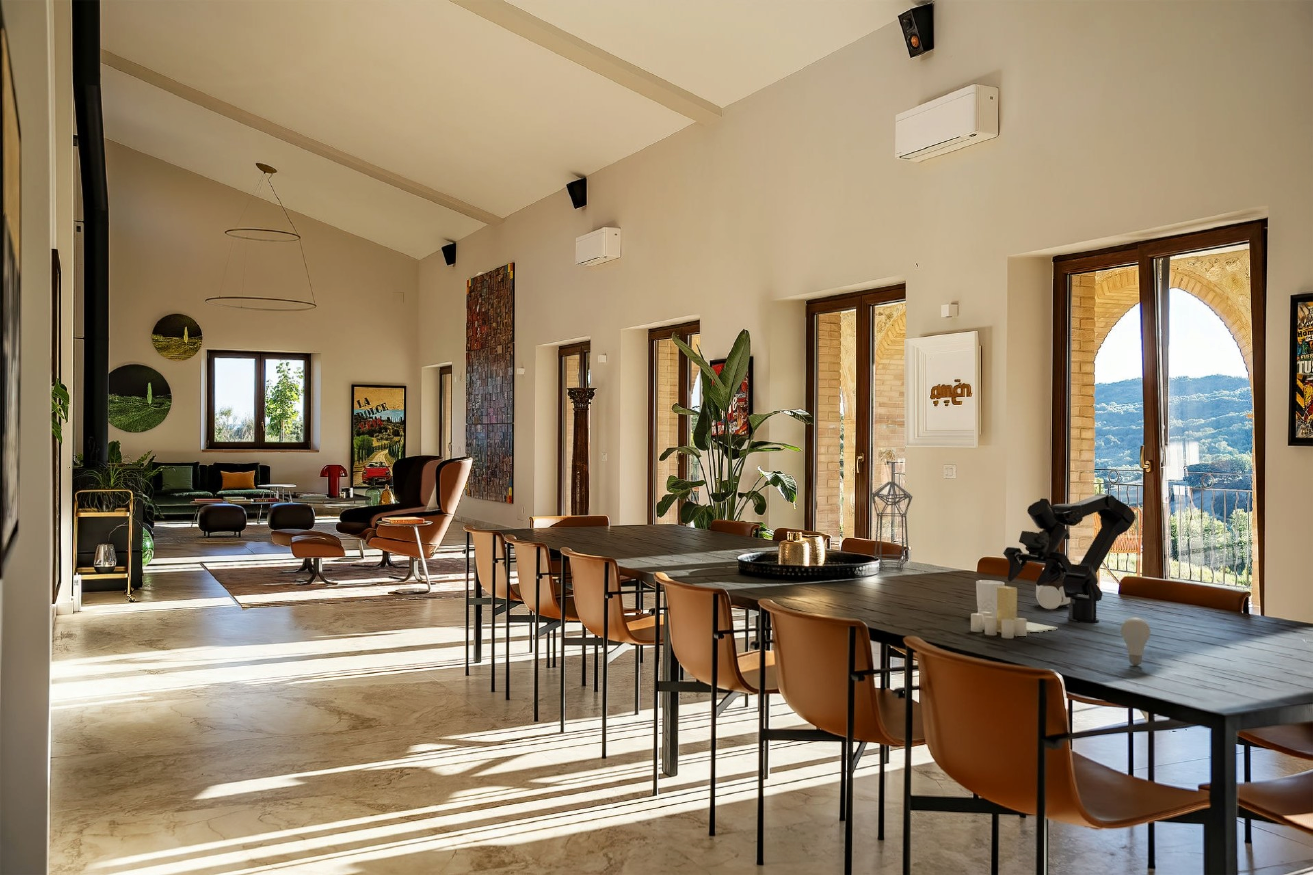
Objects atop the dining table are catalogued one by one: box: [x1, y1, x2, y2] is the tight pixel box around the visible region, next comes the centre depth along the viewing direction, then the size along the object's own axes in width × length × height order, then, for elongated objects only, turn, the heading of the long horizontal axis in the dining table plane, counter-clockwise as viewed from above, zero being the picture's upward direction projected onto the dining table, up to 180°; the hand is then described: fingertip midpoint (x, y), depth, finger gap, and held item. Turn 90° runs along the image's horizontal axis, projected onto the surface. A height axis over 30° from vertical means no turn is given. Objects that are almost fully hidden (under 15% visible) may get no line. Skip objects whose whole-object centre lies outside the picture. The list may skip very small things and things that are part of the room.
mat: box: [1027, 621, 1058, 633], centre depth 275 cm, size 10×10×1 cm
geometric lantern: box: [870, 480, 913, 571], centre depth 400 cm, size 16×16×35 cm
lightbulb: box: [1120, 617, 1151, 667], centre depth 230 cm, size 6×6×11 cm
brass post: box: [997, 585, 1018, 633], centre depth 270 cm, size 4×4×12 cm
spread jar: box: [1035, 567, 1070, 610], centre depth 311 cm, size 12×11×12 cm
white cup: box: [975, 579, 1005, 617], centre depth 294 cm, size 8×8×10 cm
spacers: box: [970, 612, 1028, 639], centre depth 268 cm, size 8×14×4 cm, turn 32°
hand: (1022, 582), depth 274 cm, fingers open, 9 cm apart
